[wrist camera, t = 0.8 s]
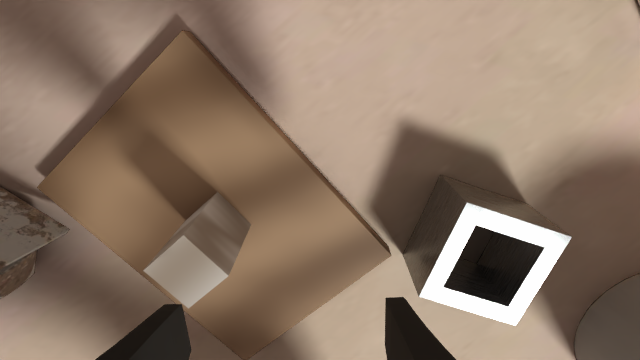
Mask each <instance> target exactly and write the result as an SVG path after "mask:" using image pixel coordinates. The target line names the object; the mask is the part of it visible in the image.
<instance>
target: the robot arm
mask: <svg viewBox="0 0 640 360" xmlns="http://www.w3.org/2000/svg"><path fill="white" fill-rule="evenodd" d="M385 348H386V354H387V360H456V359H455V358H454V357H453V356H452V355H451V354H450V353H449V352H448V351H447V350H446V348H445V347H444V346H443V345H442V344H441V343H440V342H439V341H438V340H437V338H436V337H435V336H434V335H433V334H432V333H431V331H430V330H429V329H428V328H427V327H426V326H425V324H424V323H423V322H422V320H421V319H420V318H419V317H418V315H417V314H416V313H415V311H414V310H413V309H412V307H411V306H410V305H409V303H408V302H407V300H406V299H405V298H404V297H396V298H386V312H385ZM190 353H191V346H190V341H189V336H188V331H187V326H186V322H185V317H184V312H183V307H182V304H165V305H164V306H162V307H161V308H160V309H158V310H157V311H156V312H155V313H153V314H152V315H151V316H150V317H148V318H147V319H146V320H145V321H144V322H142V323H141V324H140V325H139V326H138V327H136V328H135V329H134V330H133V331H131V332H130V333H129V334H128V335H126V336H125V337H124V338H123V339H121V340H120V341H119V342H118V343H117V344H115V345H114V346H113V347H111V348H110V349H109V350H107V351H106V352H105V353H103V354H102V355H101V356H99V357H98V358H97V359H95V360H189V356H190Z"/></svg>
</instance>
